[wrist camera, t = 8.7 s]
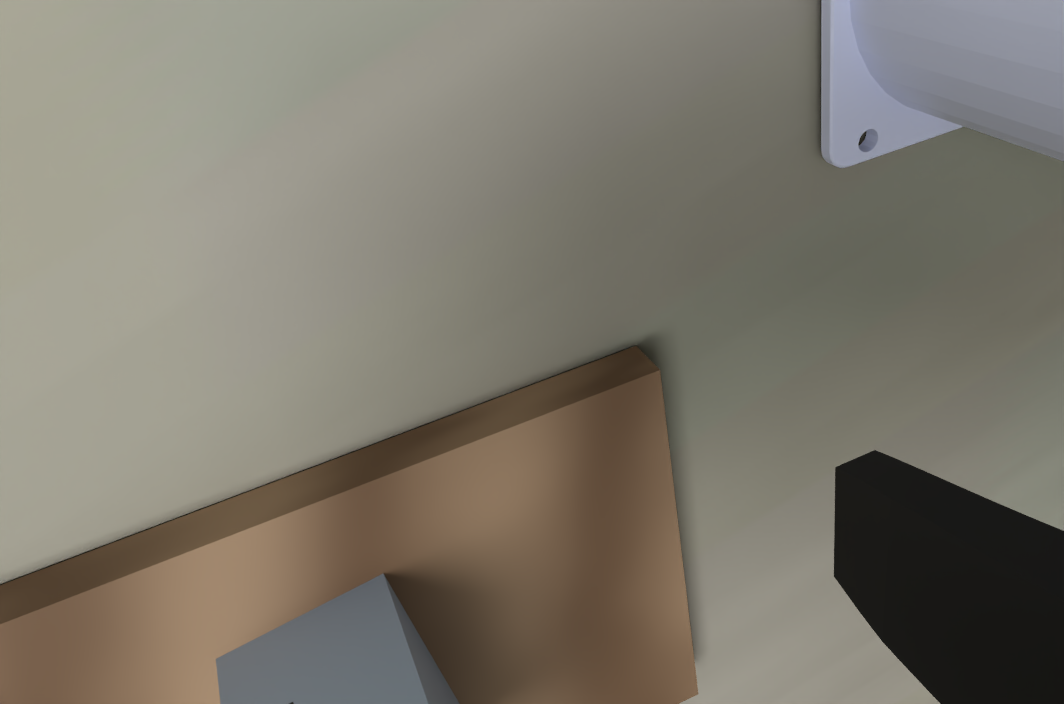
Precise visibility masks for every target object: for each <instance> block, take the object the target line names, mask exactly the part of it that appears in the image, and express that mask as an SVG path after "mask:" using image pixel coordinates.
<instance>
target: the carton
mask: <svg viewBox="0 0 1064 704" xmlns="http://www.w3.org/2000/svg"><path fill="white" fill-rule="evenodd" d="M216 666H217V676H218V685H219V695H220V704H289V703H291V702H293V703H294V704H459V702H458V700H457V699H456V697H455V695H454V694H453V692H452V690H451V688H450V687H449V685H448V683H447V682H446V680H445V678H444V676H443V675H442V673H441V671H440V670H439V668H438V666H437V664H436V663H435V661H434V659H433V658H432V656H431V654H430V652H429V651H428V649H427V647H426V646H425V644H424V642H423V640H422V639H421V637H420V635H419V634H418V632H417V630H416V628H415V627H414V625H413V623H412V622H411V620H410V618H409V616H408V615H407V613H406V611H405V610H404V608H403V606H402V604H401V603H400V601H399V599H398V598H397V596H396V594H395V592H394V591H393V589H392V587H391V586H390V584H389V582H388V580H387V579H386V577H385V575H384V574H381V575H379V576H377V577H375V578H373V579H371V580H370V581H368V582H366V583H364V584H362V585H360V586H358V587H356V588H354V589H352V590H350V591H348V592H346V593H344V594H342V595H340V596H338V597H336V598H334V599H332V600H330V601H328V602H326V603H324V604H322V605H321V606H319V607H317V608H315V609H313V610H311V611H309V612H307V613H305V614H303V615H301V616H299V617H297V618H295V619H293V620H291V621H289V622H287V623H285V624H283V625H281V626H279V627H277V628H275V629H274V630H272V631H270V632H268V633H266V634H264V635H262V636H260V637H258V638H256V639H254V640H252V641H250V642H248V643H246V644H244V645H242V646H240V647H238V648H236V649H234V650H232V651H230V652H228V653H226V654H225V655H223V656H221V657H219V658H217V659H216Z"/></svg>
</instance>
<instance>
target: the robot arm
mask: <svg viewBox="0 0 1064 704" xmlns="http://www.w3.org/2000/svg"><path fill="white" fill-rule="evenodd" d="M962 127H966V128H969V129H972V130H975V131H978V132H981V133H984V134H986V135H989V136H992V137H995V138H998V139H1001V140H1004V141H1006V142H1009V143H1012V144H1015V145H1018V146H1021V147H1024V148H1026V149H1029V150H1032V151H1035V152H1038V153H1041V154H1044V155H1046V156H1049V157H1052V158H1055V159H1058V160H1061V161H1064V0H821V151H822V156H823V158H824V159H825V161H826V162H828V163H830V164H832V165H834V166H837V167H839V168H846V167H850V166H853V165H856V164H859V163H861V162H864V161H867V160H870V159H873V158H876V157H879V156H882V155H884V154H887V153H890V152H893V151H896V150H899V149H902V148H904V147H907V146H910V145H913V144H916V143H919V142H922V141H925V140H927V139H930V138H933V137H936V136H939V135H942V134H945V133H947V132H950V131H953V130H956V129H959V128H962ZM865 131H866V132H867V133H866V137H865V140H864V141H863V142H862V144H861V145H858V143H859V139H860V137H861V136H862V134H863V133H864V132H865ZM834 577H835V578H836V580H837V581H838V582H839V584H840V585H841V587H842V588H843V589H844V591H845V592H846V594H847V595H848V596H849V598H850V599H851V600H852V602H853V603H854V605H855V606H856V607H857V609H858V610H859V612H860V613H861V614H862V616H863V617H864V618H865V619H866V621H867V622H868V623H869V625H870V626H871V627H872V629H873V630H874V631H875V633H876V634H877V635H878V636H879V638H880V639H881V640H882V642H883V643H884V644H885V645H886V646H887V647H888V648H889V649H890V650H891V651H892V653H893V654H894V655H895V656H896V657H897V658H898V659H899V660H900V661H901V662H902V663H903V664H904V665H905V666H906V668H907V669H908V670H909V671H910V672H911V673H912V674H913V675H914V676H915V677H916V678H917V679H918V680H919V681H920V682H921V684H922V685H923V686H924V687H925V688H926V689H927V690H928V691H929V692H930V693H931V694H932V695H933V696H934V697H935V698H936V699H937V700H938V701H939V702H940V704H1064V531H1062V530H1060V529H1057V528H1055V527H1053V526H1050V525H1048V524H1045V523H1043V522H1040V521H1038V520H1036V519H1033V518H1031V517H1028V516H1026V515H1024V514H1021V513H1019V512H1017V511H1014V510H1012V509H1010V508H1007V507H1005V506H1003V505H1000V504H998V503H996V502H993V501H991V500H989V499H986V498H984V497H982V496H980V495H977V494H975V493H973V492H970V491H968V490H966V489H964V488H961V487H959V486H957V485H955V484H952V483H950V482H948V481H945V480H943V479H941V478H939V477H936V476H934V475H932V474H930V473H927V472H925V471H923V470H921V469H918V468H916V467H914V466H911V465H909V464H907V463H905V462H902V461H900V460H898V459H895V458H893V457H890V456H888V455H886V454H883V453H881V452H878V451H876V450H874V451H872V452H870V453H867V454H865V455H863V456H860V457H858V458H856V459H853V460H851V461H849V462H847V463H844V464H842V465H840V466H837V467H836V472H835V541H834ZM289 704H294V703H293V702H291V703H289Z"/></svg>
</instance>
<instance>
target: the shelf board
mask: <svg viewBox="0 0 1064 704" xmlns="http://www.w3.org/2000/svg"><path fill="white" fill-rule="evenodd" d="M381 574H384V575H385V577H386V579H387V580H388V582H389V584H390V586H391V587H392V589H393V591H394V592H395V594H396V596H397V598H398V599H399V601H400V603H401V604H402V606H403V608H404V610H405V611H406V613H407V615H408V616H409V618H410V620H411V622H412V623H413V625H414V627H415V628H416V630H417V632H418V634H419V635H420V637H421V639H422V640H423V642H424V644H425V646H426V647H427V649H428V651H429V652H430V654H431V656H432V658H433V659H434V661H435V663H436V664H437V666H438V668H439V670H440V671H441V673H442V675H443V676H444V678H445V680H446V682H447V683H448V685H449V687H450V688H451V690H452V692H453V694H454V695H455V697H456V699H457V700H458V702H459V704H679V703H681V702H683V701H685V700H687V699H689V698H691V697H693V696H695V695H697V694H698V687H697V679H696V670H695V662H694V653H693V645H692V636H691V628H690V620H689V611H688V603H687V594H686V586H685V577H684V569H683V560H682V552H681V543H680V535H679V526H678V518H677V509H676V501H675V492H674V484H673V475H672V467H671V458H670V450H669V441H668V433H667V424H666V416H665V407H664V399H663V390H662V382H661V373H660V369H659V368H658V367H657V366H656V365H655V364H654V363H653V362H652V361H651V360H650V359H649V358H648V357H647V356H646V355H645V354H644V353H643V352H642V351H641V350H640V349H639V348H638V347H637V346H634V347H631V348H629V349H626V350H623V351H621V352H618V353H615V354H613V355H610V356H607V357H605V358H602V359H599V360H597V361H594V362H592V363H589V364H586V365H584V366H581V367H578V368H576V369H573V370H570V371H568V372H565V373H562V374H560V375H557V376H554V377H552V378H549V379H546V380H544V381H541V382H538V383H536V384H533V385H530V386H528V387H525V388H522V389H520V390H517V391H515V392H512V393H509V394H507V395H504V396H501V397H499V398H496V399H493V400H491V401H488V402H485V403H483V404H480V405H477V406H475V407H472V408H469V409H467V410H464V411H461V412H459V413H456V414H453V415H451V416H448V417H445V418H443V419H440V420H438V421H435V422H432V423H430V424H427V425H424V426H422V427H419V428H416V429H414V430H411V431H408V432H406V433H403V434H400V435H398V436H395V437H392V438H390V439H387V440H384V441H382V442H379V443H376V444H374V445H371V446H369V447H366V448H363V449H361V450H358V451H355V452H353V453H350V454H347V455H345V456H342V457H339V458H337V459H334V460H331V461H329V462H326V463H323V464H321V465H318V466H315V467H313V468H310V469H307V470H305V471H302V472H299V473H297V474H294V475H292V476H289V477H286V478H284V479H281V480H278V481H276V482H273V483H270V484H268V485H265V486H262V487H260V488H257V489H254V490H252V491H249V492H246V493H244V494H241V495H238V496H236V497H233V498H230V499H228V500H225V501H222V502H220V503H217V504H215V505H212V506H209V507H207V508H204V509H201V510H199V511H196V512H193V513H191V514H188V515H185V516H183V517H180V518H177V519H175V520H172V521H169V522H167V523H164V524H161V525H159V526H156V527H153V528H151V529H148V530H145V531H143V532H140V533H138V534H135V535H132V536H130V537H127V538H124V539H122V540H119V541H116V542H114V543H111V544H108V545H106V546H103V547H100V548H98V549H95V550H92V551H90V552H87V553H84V554H82V555H79V556H76V557H74V558H71V559H68V560H66V561H63V562H61V563H58V564H55V565H53V566H50V567H47V568H45V569H42V570H39V571H37V572H34V573H31V574H29V575H26V576H23V577H21V578H18V579H15V580H13V581H10V582H7V583H5V584H2V585H0V704H220V695H219V685H218V676H217V666H216V659H217V658H219V657H221V656H223V655H225V654H226V653H228V652H230V651H232V650H234V649H236V648H238V647H240V646H242V645H244V644H246V643H248V642H250V641H252V640H254V639H256V638H258V637H260V636H262V635H264V634H266V633H268V632H270V631H272V630H274V629H275V628H277V627H279V626H281V625H283V624H285V623H287V622H289V621H291V620H293V619H295V618H297V617H299V616H301V615H303V614H305V613H307V612H309V611H311V610H313V609H315V608H317V607H319V606H321V605H322V604H324V603H326V602H328V601H330V600H332V599H334V598H336V597H338V596H340V595H342V594H344V593H346V592H348V591H350V590H352V589H354V588H356V587H358V586H360V585H362V584H364V583H366V582H368V581H370V580H371V579H373V578H375V577H377V576H379V575H381Z"/></svg>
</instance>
